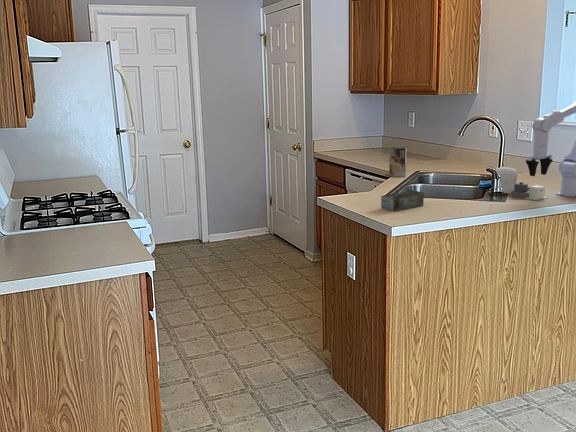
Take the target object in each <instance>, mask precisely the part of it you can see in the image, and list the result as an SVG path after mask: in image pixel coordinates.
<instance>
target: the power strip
mask: <svg viewBox="0 0 576 432" xmlns="http://www.w3.org/2000/svg"><path fill="white" fill-rule="evenodd" d="M529 189H530V186H529V184H527V183H524V182H522V181H520V182H518V183H516V184H515V187H514V191H511V194H510V197H515V198H518V199H523V200H525V198H526V197H529Z"/></svg>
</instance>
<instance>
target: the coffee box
mask: <svg viewBox="0 0 576 432" xmlns="http://www.w3.org/2000/svg"><path fill="white" fill-rule="evenodd" d="M388 163H389V166H388V167H389V170H388V171H389V176H388V177H392V178H393V177H394V178H395V177H396V178H398V177H399V178H400V177H401V178H405V177H406V176H407V174H406V173H407V147H402V146H401V147H400V146H399V147H393V146H392V147H389V162H388Z"/></svg>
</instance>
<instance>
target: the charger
mask: <svg viewBox="0 0 576 432" xmlns="http://www.w3.org/2000/svg"><path fill="white" fill-rule="evenodd" d="M529 187H530V189H529V197H531V198H536V199H539V198H544V197H545V191H546V187H545V186H543V185H537V184H535V185H530V186H529Z"/></svg>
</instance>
